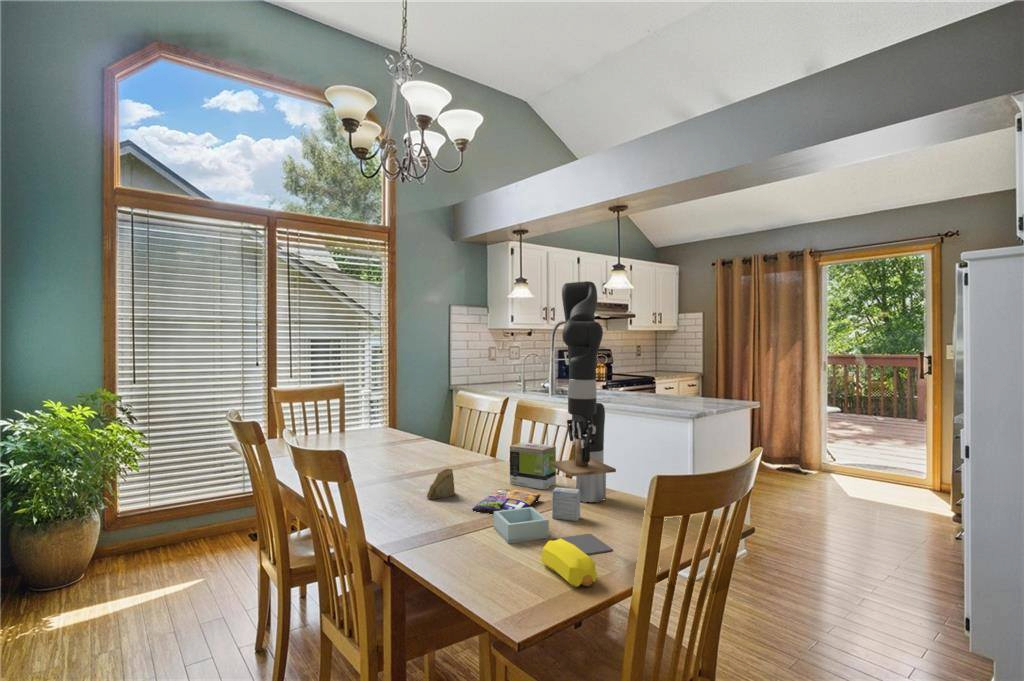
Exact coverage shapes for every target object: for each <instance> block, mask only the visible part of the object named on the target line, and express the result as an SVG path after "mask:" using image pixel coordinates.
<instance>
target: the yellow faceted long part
mask: <svg viewBox="0 0 1024 681" xmlns="http://www.w3.org/2000/svg"><path fill="white" fill-rule="evenodd" d="M559 538H560V539H558V540H555V541H552V540H548V541H547V543H545V545H544V546H543V547H542V553H541V560H540V562H541V563H542V564H543V565H545V567H547V568H549V569H550V570H552V571H554V572H555V573H557V574H559V575H560V576H561V577H562V578H563V579H564V580H565V581H566V582H567V583H569V584H570V585H571V586H572V588H577V587H580V585H582V586H584V587H590V586H591V585H592V584H593V583H596V578H597V570H596V563H595V562H596V561H595V560H593V559H592V558H591V557H590V556H589V555H586V554H585V553H584V552H582V551H581V550H580V549H579V548H577V547H576V546H575V545H573V544H571V543H569V542H567V541H565V540H563V539H561V538H562V537H559Z"/></svg>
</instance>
